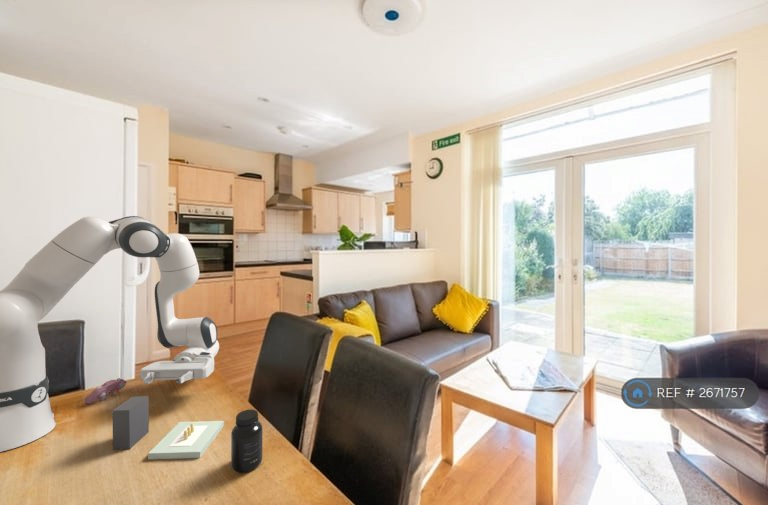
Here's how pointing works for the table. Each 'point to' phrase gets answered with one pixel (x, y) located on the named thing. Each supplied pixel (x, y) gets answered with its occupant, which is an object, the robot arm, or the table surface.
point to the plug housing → (130, 422)
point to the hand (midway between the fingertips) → (162, 381)
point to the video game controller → (106, 390)
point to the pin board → (187, 440)
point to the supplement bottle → (246, 442)
